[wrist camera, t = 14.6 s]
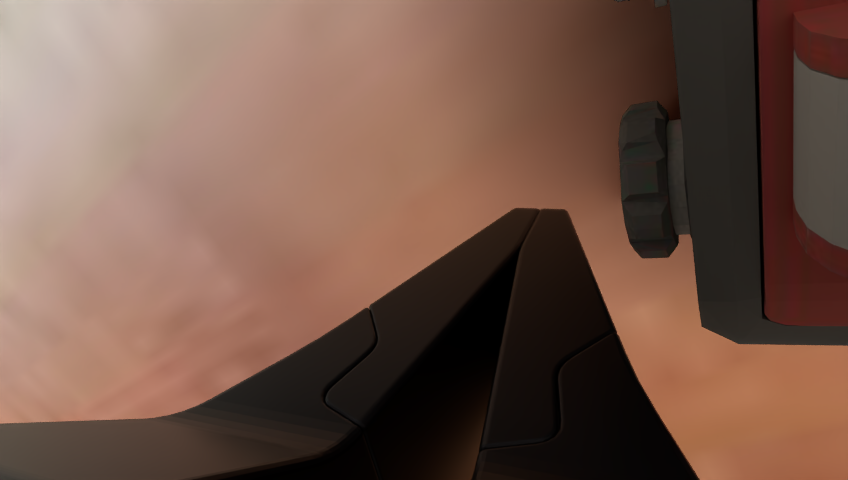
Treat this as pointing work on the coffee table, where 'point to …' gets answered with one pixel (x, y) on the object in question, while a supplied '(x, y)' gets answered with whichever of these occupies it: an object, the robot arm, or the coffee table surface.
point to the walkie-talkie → (750, 167)
